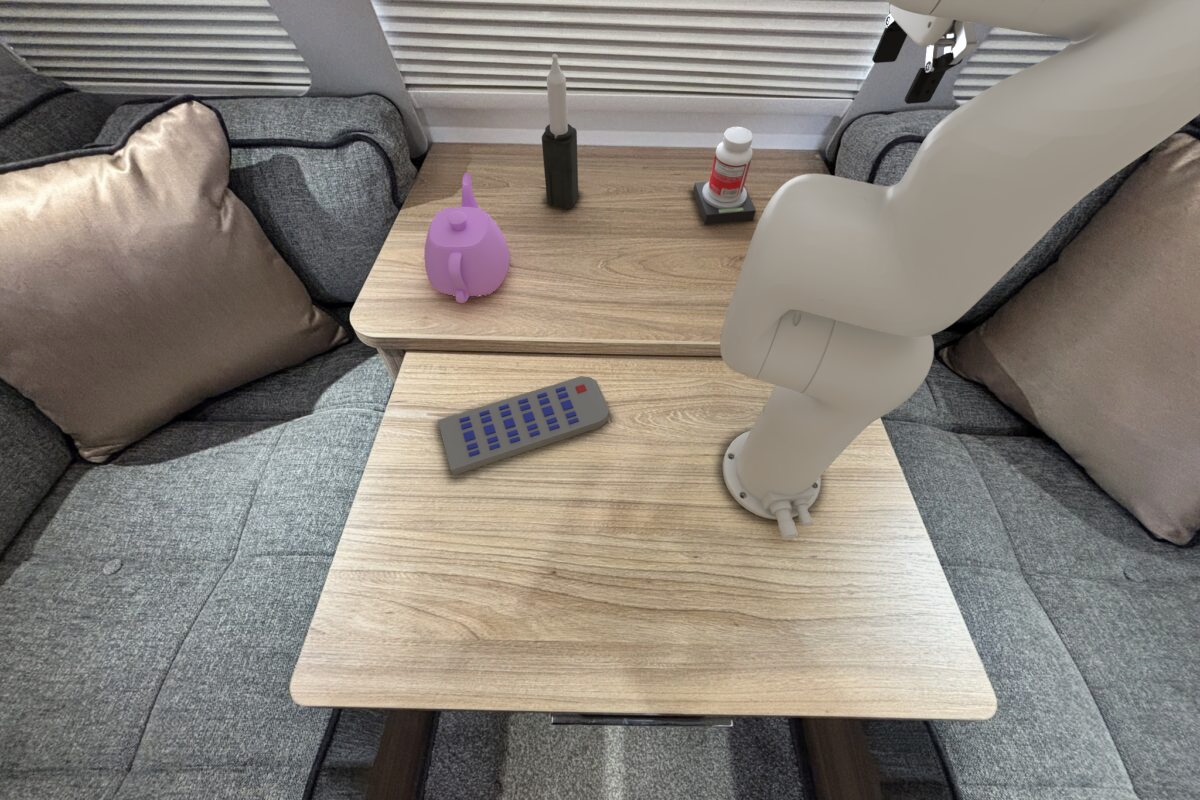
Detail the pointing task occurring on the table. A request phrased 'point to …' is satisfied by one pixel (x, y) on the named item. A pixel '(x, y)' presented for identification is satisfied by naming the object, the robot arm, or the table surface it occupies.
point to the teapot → (465, 249)
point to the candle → (559, 144)
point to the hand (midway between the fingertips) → (899, 80)
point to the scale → (722, 206)
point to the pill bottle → (731, 165)
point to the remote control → (522, 423)
